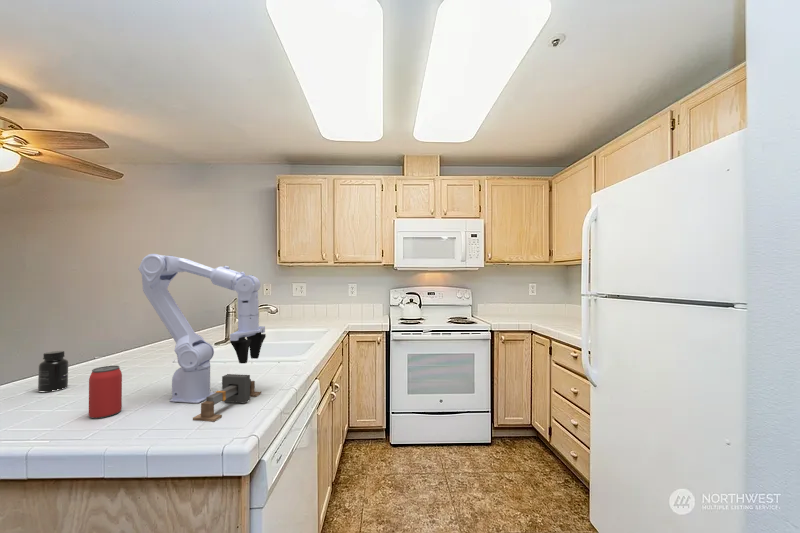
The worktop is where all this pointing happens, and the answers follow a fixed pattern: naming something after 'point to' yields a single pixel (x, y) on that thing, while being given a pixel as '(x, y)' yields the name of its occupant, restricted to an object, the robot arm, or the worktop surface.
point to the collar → (243, 387)
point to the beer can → (105, 391)
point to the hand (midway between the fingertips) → (249, 360)
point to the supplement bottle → (53, 372)
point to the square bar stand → (217, 397)
